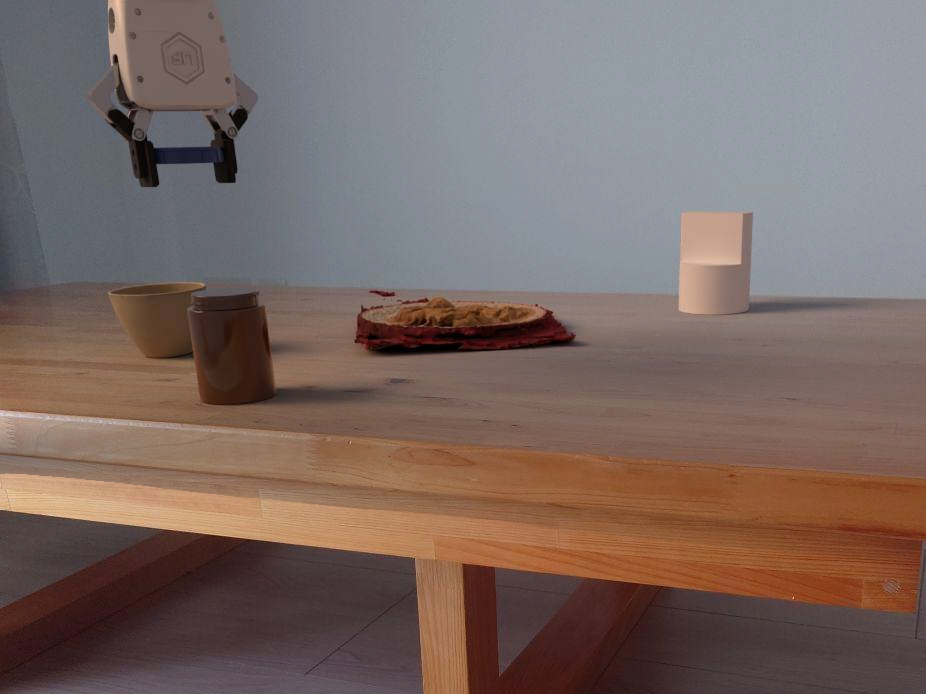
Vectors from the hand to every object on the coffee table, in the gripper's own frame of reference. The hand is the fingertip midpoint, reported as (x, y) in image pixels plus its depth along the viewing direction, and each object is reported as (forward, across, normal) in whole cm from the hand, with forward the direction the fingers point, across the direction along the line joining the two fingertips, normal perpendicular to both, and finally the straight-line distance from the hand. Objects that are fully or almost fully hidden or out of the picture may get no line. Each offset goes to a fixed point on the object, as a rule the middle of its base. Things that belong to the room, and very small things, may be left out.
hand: (188, 183), depth 97 cm
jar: (+18, -4, -14) cm, 23 cm away
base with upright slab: (+18, +62, -14) cm, 66 cm away
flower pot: (+18, 0, +12) cm, 22 cm away
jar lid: (-3, 0, 0) cm, 3 cm away
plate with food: (+18, +30, -2) cm, 35 cm away
